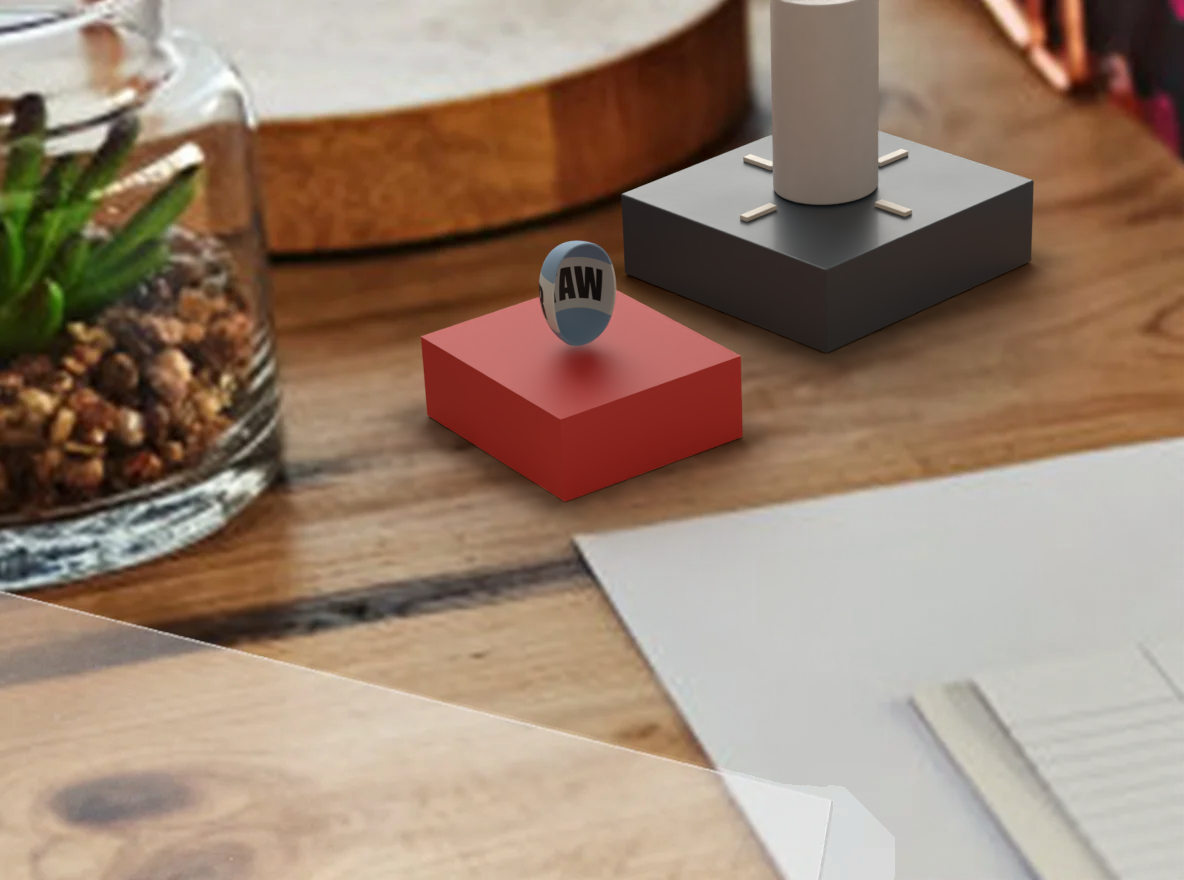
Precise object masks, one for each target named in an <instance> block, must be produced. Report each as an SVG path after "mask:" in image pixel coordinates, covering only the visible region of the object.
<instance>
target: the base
mask: <svg viewBox="0 0 1184 880" xmlns="http://www.w3.org/2000/svg"><path fill="white" fill-rule="evenodd" d="M1034 183H1035V181H1034V179H1030V178H1027V177H1024V176H1022V175H1019V174H1015V173H1012V172H1009V171H1006V170H1003V169H1000V168H997V167H994V166H990V165H987V164H984V163H981V162H977V161H976V160H971V159H969V158H965V157H962V156H959V155H956V154H954V153H950V152H946V151H944V150H941V149H937V148H934V147H931V146H929V145H925V144H922V143H919V142H916V141H912V140H910V139H907V138H904V137H901V136H897V135H895V134H892V133H889V132H885V131H881V130H878V185H877V188H876V189H875V190H874V191H873V192H872V193H871V194H869V195H867V196H865V197H863V198H861V199H858V200H855V201H851V202H846V203H840V204H831V205H812V204H803V203H797V202H793V201H790V200H787V199H785V198H783V197H781V196H779V195H778V194H777V193H776V192H775V190H774V188H773V155H772V134H769V135H767V136H765V137H761V138H760V139H757V140H754V141H752V142H749V143H747V144H745V145H741V146H739V147H737V148H734V149H732V150H729V151H726V152H724V153H721V154H719V155H717V156H714V157H712V158H708V159H706V160H704V161H701V162H699V163H696V164H693V165H691V166H689V167H687V168H684V169H681V170H679V171H676V172H673V173H671V174H668V175H667V176H663V177H661V178H658V179H656V180H654V181H651V182H649V183H646V184H643V185H641V186H638V187H636V188H634V189H631V190H628V191H626V192H623V193H621V196H620V197H621V216H622V217H621V220H622V238H623V240H622V241H623V259H624V260H623V262H624V265H623V266H624V273H625V274H626V275H628V276H631V277H633V278H636V279H638V280H641V281H642V282H646V283H647V284H651V285H653V286H656V287H659V288H661V289H664V290H666V291H668V292H671V293H672V294H673V293H674V294H676V295H679V296H681V297H684V298H687V299H688V300H691V301H694V302H696V303H699V304H701V305H703V306H706V307H709V308H711V309H714V310H717V311H719V312H722V313H724V314H726V315H729V316H732V317H733V318H734V317H735V318H736V319H739V320H741V321H744V322H747V323H750V324H752V325H754V326H757V327H760V328H762V329H765V330H767V331H770V332H772V333H774V334H777V335H779V336H782V337H784V338H787V339H790V340H792V341H795V342H797V343H800V344H802V345H805V346H808V347H810V348H813V349H815V350H817V351H820V352H823V353H824V354H827V353H831V352H832V351H835V350H837V349H838V348H841V347H843V346H845V345H847V344H850V343H853V342H854V341H856V340H858V339H861V338H864V337H865V336H868V335H870V334H872V333H875V332H876V331H878V330H881V329H883V328H886V327H888V326H890V325H892V324H894V323H896V322H899V321H900V320H903V319H906V318H908V317H910V316H912V315H915V314H917V313H919V312H921V311H923V310H926V309H928V308H930V307H932V306H935V305H937V304H939V303H941V302H944V301H945V300H948V299H951V298H952V297H956V296H957V295H959V294H961V293H963V292H966V291H967V290H970V289H972V288H975V287H976V286H979V285H981V284H983V283H986V282H988V281H990V280H993V279H995V278H996V277H997V278H998V277H999V276H1002V275H1003V274H1006V273H1008V272H1011V271H1013V270H1015V269H1017V268H1019V267H1021V266H1024V265H1027V264H1028V263H1030V262H1031V261H1032V247H1033V217H1034V185H1035V184H1034Z"/></svg>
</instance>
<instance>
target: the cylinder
mask: <svg viewBox="0 0 1184 880" xmlns="http://www.w3.org/2000/svg"><path fill="white" fill-rule="evenodd" d="M879 15H880V0H769V21H770V25H769V27H770V30H769V31H770V84H771V85H770V86H771V89H770V90H771V93H770V94H771V135H772V155H773V188H774V190H775V192H776V193H777V194H778V195H779V196H781V197H783V198H785V199H787V200H790V201H793V202H797V203H803V204H812V205H831V204H840V203H846V202H851V201H855V200H858V199H861V198H863V197H865V196H867V195H869V194H871V193H872V192H873V191H874V190H875V189H876V188H877V185H878V130H879V128H880V127H879V120H880V119H879V114H880V113H879V112H880V111H879V110H880V109H879V108H880V107H879V106H880V105H879V101H880V100H879V99H880V98H879V97H880V96H879V94H880V93H879V92H880V91H879V90H880V89H879V88H880V86H879V85H880V83H879V80H880V79H879V78H880V75H879V73H880V72H879V71H880V65H879V64H880V63H879V62H880V60H879V59H880V53H879V52H880V41H879V40H880V18H879V17H880V16H879ZM879 131H880V130H879Z"/></svg>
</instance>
